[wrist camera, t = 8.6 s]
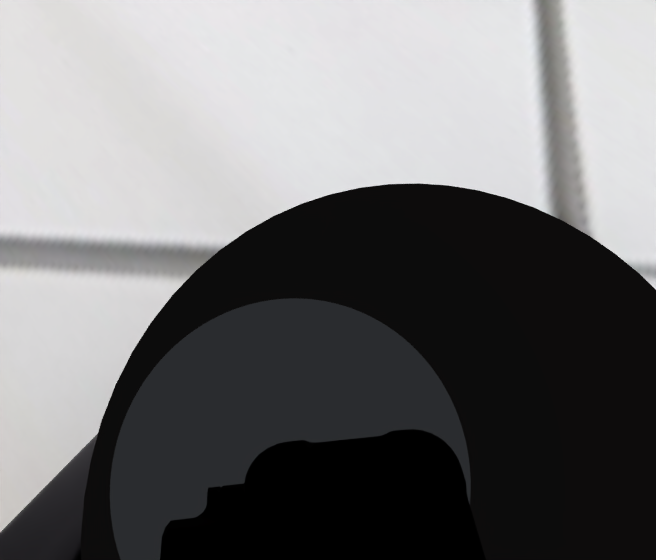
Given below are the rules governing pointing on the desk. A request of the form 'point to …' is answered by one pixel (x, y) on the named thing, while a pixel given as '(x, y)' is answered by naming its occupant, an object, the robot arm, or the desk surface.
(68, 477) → the robot arm
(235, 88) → the desk surface
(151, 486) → the supplement container
